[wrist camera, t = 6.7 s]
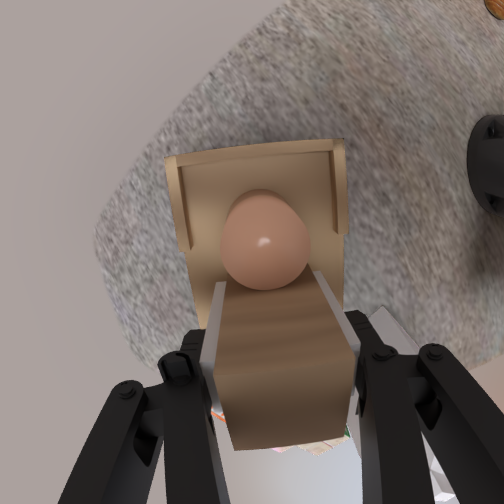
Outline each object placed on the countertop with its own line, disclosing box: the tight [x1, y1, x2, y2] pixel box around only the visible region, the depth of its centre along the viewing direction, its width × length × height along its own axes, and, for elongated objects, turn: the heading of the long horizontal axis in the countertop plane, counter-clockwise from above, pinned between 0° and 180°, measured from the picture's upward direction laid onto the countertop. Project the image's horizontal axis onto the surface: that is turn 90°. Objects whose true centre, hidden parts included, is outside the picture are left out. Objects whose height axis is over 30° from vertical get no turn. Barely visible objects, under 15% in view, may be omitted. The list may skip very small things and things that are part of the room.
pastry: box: [484, 0, 504, 20], centre depth 19 cm, size 9×7×4 cm
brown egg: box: [220, 189, 311, 290], centre depth 14 cm, size 4×4×4 cm
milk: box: [347, 306, 455, 501], centre depth 28 cm, size 12×12×26 cm
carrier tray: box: [164, 138, 356, 451], centre depth 14 cm, size 16×9×13 cm, turn 6°
